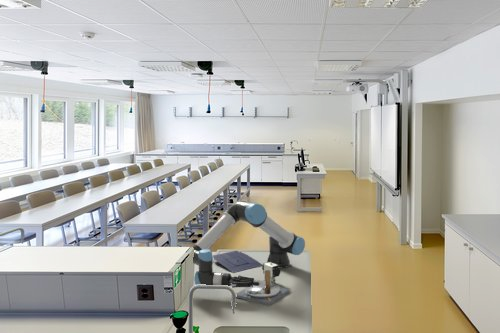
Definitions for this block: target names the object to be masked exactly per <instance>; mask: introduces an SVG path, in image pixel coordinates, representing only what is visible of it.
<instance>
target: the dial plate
mask: <svg viewBox="0 0 500 333" xmlns="http://www.w3.org/2000/svg"><path fill="white" fill-rule="evenodd" d="M279 287H280V293H279V294H278V295H277V296H274V297H271V298H253V297H250V296H248V295H246V294H245V288H243V289H241V290H240V291H238V292H236V293H235V294H237V299H239V300H240V299H242V300H244V301H249V302H253V303H258V304H262V305H266V306H271V305H272V304H274V303H275V302H277V301H279V300H280V299H281V298H283V297H284V296H286V295H287V294H289V293H291V292H290V291H291V290H290V288H286V287H281V286H279Z"/></svg>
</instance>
